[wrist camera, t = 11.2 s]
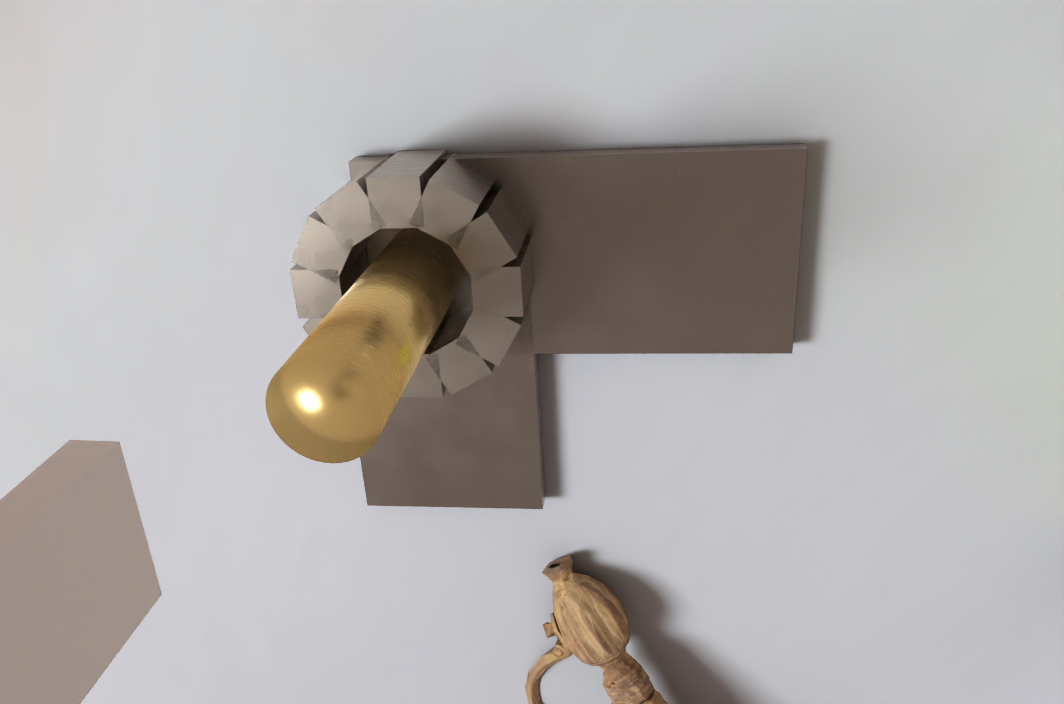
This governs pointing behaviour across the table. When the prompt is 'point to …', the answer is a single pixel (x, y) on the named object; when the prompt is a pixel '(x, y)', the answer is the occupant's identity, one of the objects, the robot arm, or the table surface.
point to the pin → (364, 351)
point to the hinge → (555, 287)
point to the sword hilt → (591, 636)
